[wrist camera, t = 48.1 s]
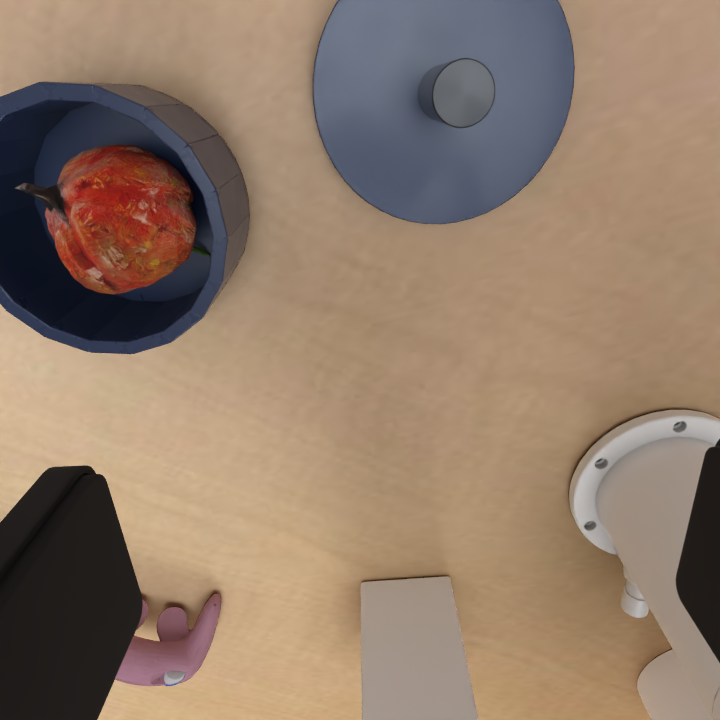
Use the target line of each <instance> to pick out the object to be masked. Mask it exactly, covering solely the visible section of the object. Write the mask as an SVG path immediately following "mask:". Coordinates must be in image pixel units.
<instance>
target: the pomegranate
mask: <svg viewBox="0 0 720 720" xmlns="http://www.w3.org/2000/svg"><path fill="white" fill-rule="evenodd" d="M15 189H19V190H22V191H24V192H26V193H29V194H31V195H33V196H35V197H36V198H38V199H40V200H42V202H43V203H44V205H45V206H46V207H47V208H46V211H45V217H46V219H47V225H48V230H49V232H50V234H51V235H52V237H53V239H54V240H55V245H56V249H57V252H58V255H59V257H60V259H61V261H62V262H63V264H64V265H65V267H66V268H67V269H68V270H69V272H70V274H71V275H72V276H73V277H74V279H76V280H77V281H78V282H79V283H81V284H82V285H83V286H84V287H86V288H87V289H91V290H94V291H96V292H99V293H108V294H118V293H125V292H128V291H131V290H133V289H136V288H141V287H146V286H149V285H152V284H154V283H155V282H157V281H158V280H160V279H161V278H163V277H165V276H167V275H168V274H170V273H172V272H173V271H174V270H175V269H176V268H177V267H178V266H180V265H181V264H182V263H184V262H186V261H187V260H188V258H189V257H190V255H191V252H192V251H195V252H197V253H200V254H202V255H205V256H208V257H210V254H209V253H208V252H206V251H205V250H203V249H202V248H200V247H196V246H193V243H194V239H195V235H196V221H195V217H194V214H193V211H192V209H191V204H192V202H193V198H194V197H193V191H192V190H191V188H190V186H189V184H188V182H187V181H186V180H185V179H184V178H183V176H182V175H181V174H180V173H179V172H178V170H177V169H176V168H174V167H173V166H172V165H171V164H170V163H168V162H167V161H166V160H163V159H160V158H157V157H156V156H155V155H154V154H153V153H152V152H151V151H149V150H146V149H143V148H140V147H138V146H134V145H109V146H102V147H95V148H92V149H89V150H86V151H82V152H81V153H79V154H78V155H77V156H75V157H73V158H71V159H70V160H69V161H68V162H67V163H66V164H65V165H64V167H63V169H62V171H61V173H60V176H59V179H58V182H57V184H56V185H54V186H50V187H41V186H36V185H33V184H28V183H23V184H21V185H20V186H18V187H16V188H15Z"/></svg>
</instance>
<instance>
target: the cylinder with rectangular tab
mask: <svg viewBox="0 0 720 720" xmlns="http://www.w3.org/2000/svg"><path fill="white" fill-rule="evenodd" d="M637 691H638V693H639V695H640V697H641V699H642V701H643V703H644V706H645V708H646V710H647V712H648V714H649V716H650V718H651V720H713V719H712V717H711V716H710V714H709V712H708V710H707V709H706V707H705V705H704V703H703V701H702V700H701V698H700V696H699V694H698V693H697V691H696V689H695V687H694V686H693V684H692V682H691V680H690V679H689V677H688V675H687V673H686V672H685V670H684V668H683V666H682V665H681V663H680V661H679V659H678V658H677V656H676V654H675V652H674V650H673V649H672V650H669V651H667V652H665V653H663V654H662V655H660V656H658V657H656V658H655V659H654V660H652V661H651V662H650V663H648V664H647V665H646V667H645V668H644V669H643V670H642V672H641V673H640V675H639V678H638V680H637Z"/></svg>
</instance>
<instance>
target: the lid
mask: <svg viewBox="0 0 720 720" xmlns="http://www.w3.org/2000/svg"><path fill="white" fill-rule="evenodd" d="M573 87H574V54H573V45H572V40H571V35H570V30H569V27H568V24H567V21H566V18H565V15H564V12H563V10H562V8H561V6H560V4H559V2H558V0H338V2H337V3H336V5H335V6H334V8H333V10H332V12H331V14H330V16H329V18H328V20H327V22H326V25H325V27H324V30H323V33H322V36H321V39H320V41H319V45H318V50H317V54H316V59H315V65H314V74H313V103H314V110H315V118H316V122H317V126H318V130H319V133H320V137H321V139H322V142H323V144H324V147H325V150H326V152H327V154H328V156H329V158H330V159H331V161H332V163H333V165H334V167H335V168H336V170H337V171H338V172H339V174H340V175H341V177H342V178H343V179H344V181H345V182H346V183H347V184H348V185H349V186H350V187H351V188H352V189H353V190H354V191H355V192H356V193H357V194H358V195H359V196H360V197H362V198H363V199H364V200H365V201H366V202H368V203H369V204H371V205H373V206H374V207H376V208H377V209H379V210H381V211H383V212H385V213H387V214H389V215H392V216H394V217H397V218H400V219H403V220H407V221H410V222H417V223H423V224H446V223H455V222H460V221H464V220H468V219H472V218H474V217H477V216H480V215H482V214H485V213H487V212H489V211H491V210H493V209H495V208H497V207H498V206H500V205H502V204H503V203H505V202H506V201H508V200H509V199H510V198H512V197H513V196H515V195H516V194H517V193H518V192H519V191H520V190H521V189H523V188H524V187H525V186H526V185H527V184H528V183H529V182H530V181H531V180H532V179H533V177H534V176H535V175H536V174H537V173H538V172H539V171H540V169H541V168H542V166H543V165H544V164H545V162H546V161H547V159H548V158H549V156H550V155H551V153H552V151H553V149H554V147H555V146H556V144H557V142H558V140H559V137H560V135H561V133H562V130H563V128H564V125H565V123H566V119H567V116H568V112H569V109H570V105H571V99H572V93H573Z"/></svg>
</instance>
